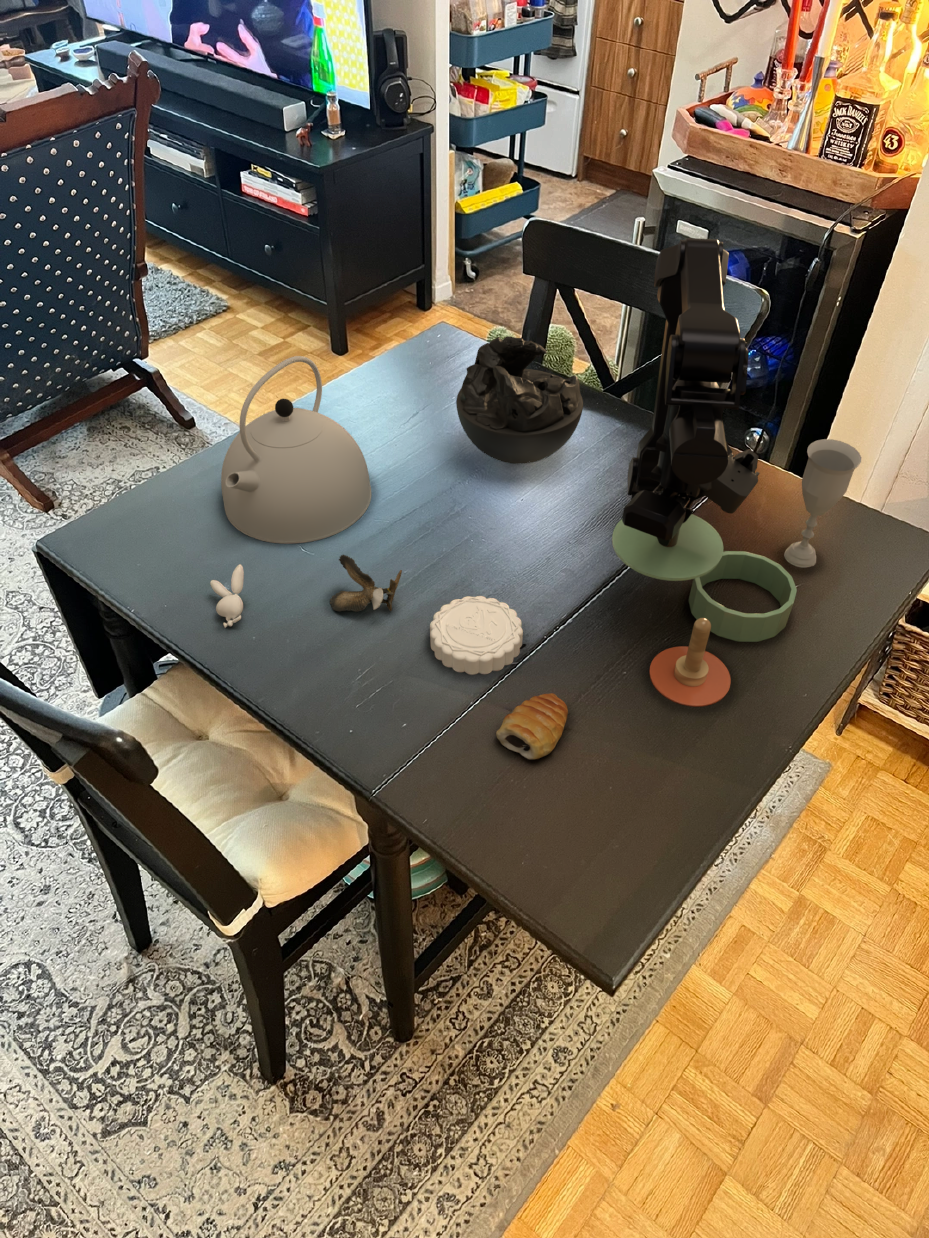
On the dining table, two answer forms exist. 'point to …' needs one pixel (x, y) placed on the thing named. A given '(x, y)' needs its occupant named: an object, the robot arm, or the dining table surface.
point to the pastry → (534, 726)
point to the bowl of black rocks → (517, 403)
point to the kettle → (293, 472)
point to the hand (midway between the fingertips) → (668, 538)
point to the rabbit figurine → (230, 597)
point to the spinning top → (683, 694)
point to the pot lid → (670, 551)
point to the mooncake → (476, 635)
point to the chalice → (822, 490)
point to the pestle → (694, 656)
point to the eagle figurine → (368, 594)
